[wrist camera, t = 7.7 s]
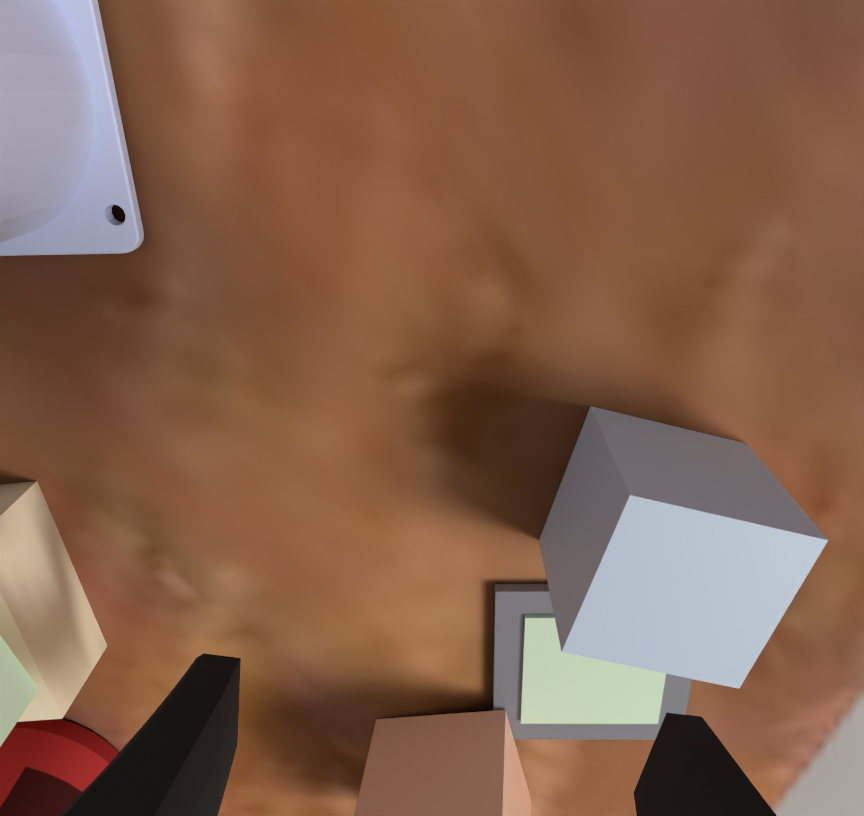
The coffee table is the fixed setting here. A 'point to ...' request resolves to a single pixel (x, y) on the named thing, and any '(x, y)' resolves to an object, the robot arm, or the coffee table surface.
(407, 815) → the terracotta cube
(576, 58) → the coffee table surface
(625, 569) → the slate blue cube
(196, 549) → the coffee table surface
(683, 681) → the tile
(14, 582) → the maple slab
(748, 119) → the coffee table surface
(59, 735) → the canned food
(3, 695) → the sage cube
